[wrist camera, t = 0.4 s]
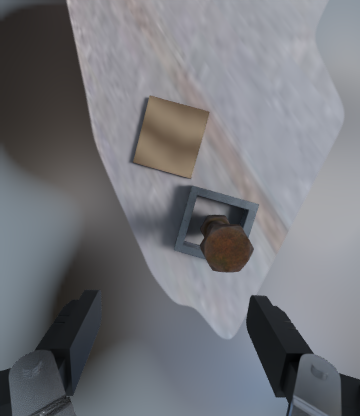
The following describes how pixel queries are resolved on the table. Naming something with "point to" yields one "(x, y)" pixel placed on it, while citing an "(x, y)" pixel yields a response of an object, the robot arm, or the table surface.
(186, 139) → the tan pad
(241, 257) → the bolt
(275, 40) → the table surface
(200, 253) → the steel collar
